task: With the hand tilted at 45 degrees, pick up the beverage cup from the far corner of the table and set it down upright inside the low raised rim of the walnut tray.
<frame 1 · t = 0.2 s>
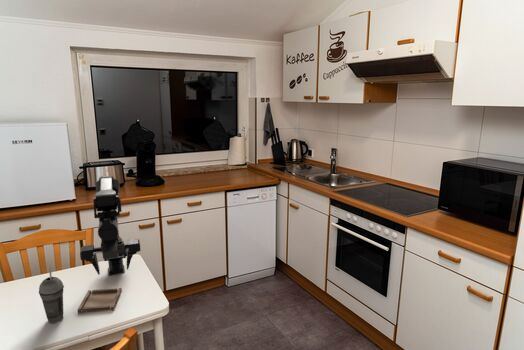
hand: (113, 271, 124), 14 cm above the table, tool pointing down, fingers open, 9 cm apart
walnut tray: (101, 302, 131), on the table
beverage cup: (56, 319, 122), on the table
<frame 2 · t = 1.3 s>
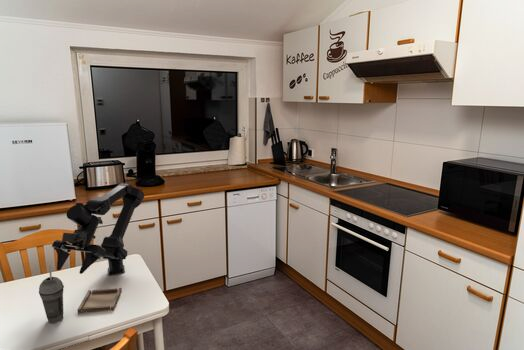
hand: (69, 271, 126), 13 cm above the table, tool tilted 45°, fingers open, 9 cm apart
nothing on the table moved.
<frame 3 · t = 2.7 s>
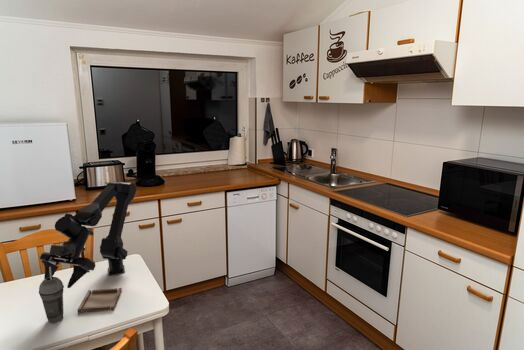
hand: (56, 286, 121), 11 cm above the table, tool tilted 45°, fingers open, 9 cm apart
nothing on the table moved.
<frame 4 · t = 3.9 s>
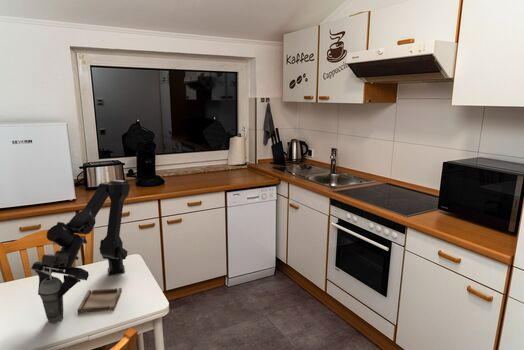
hand: (48, 296, 118), 10 cm above the table, tool tilted 45°, fingers closed on beverage cup, 7 cm apart
beverage cup: (56, 319, 122), on the table, touching gripper
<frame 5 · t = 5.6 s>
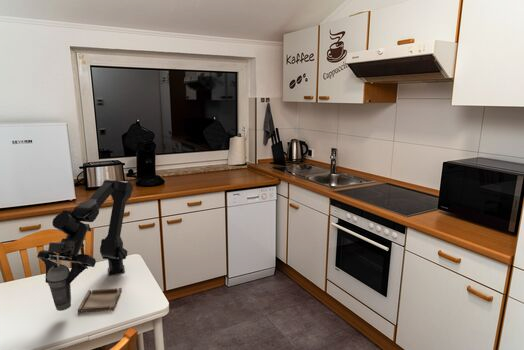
hand: (56, 283, 118), 13 cm above the table, tool tilted 45°, fingers closed on beverage cup, 7 cm apart
beverage cup: (63, 307, 122), point 4 cm above the table, touching gripper
when the fingers open (11 cm above the table, at t = 7.6 s): beverage cup drops 1 cm, resting on walnut tray.
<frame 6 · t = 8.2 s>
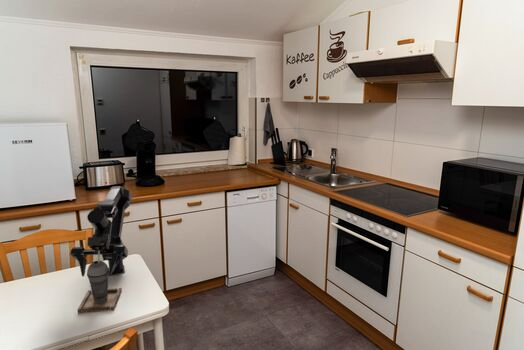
hand: (96, 275, 127), 12 cm above the table, tool tilted 45°, fingers open, 9 cm apart
beverage cup: (101, 300, 131), resting on walnut tray
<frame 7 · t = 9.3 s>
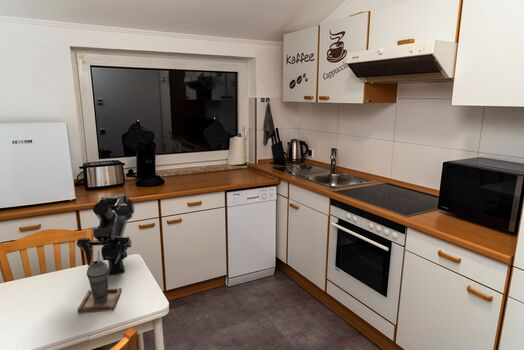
hand: (101, 264, 133), 12 cm above the table, tool tilted 45°, fingers open, 9 cm apart
nothing on the table moved.
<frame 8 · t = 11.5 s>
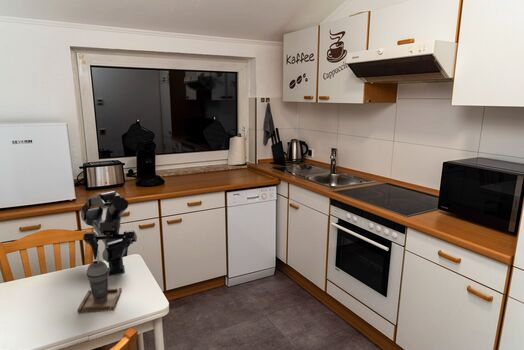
hand: (108, 258, 135), 14 cm above the table, tool tilted 45°, fingers open, 9 cm apart
nothing on the table moved.
at the end: beverage cup 0.2 cm off-centre on the walnut tray, point 0.4 cm above the walnut tray's base; beverage cup tilted 0°; the gripper is holding nothing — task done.
